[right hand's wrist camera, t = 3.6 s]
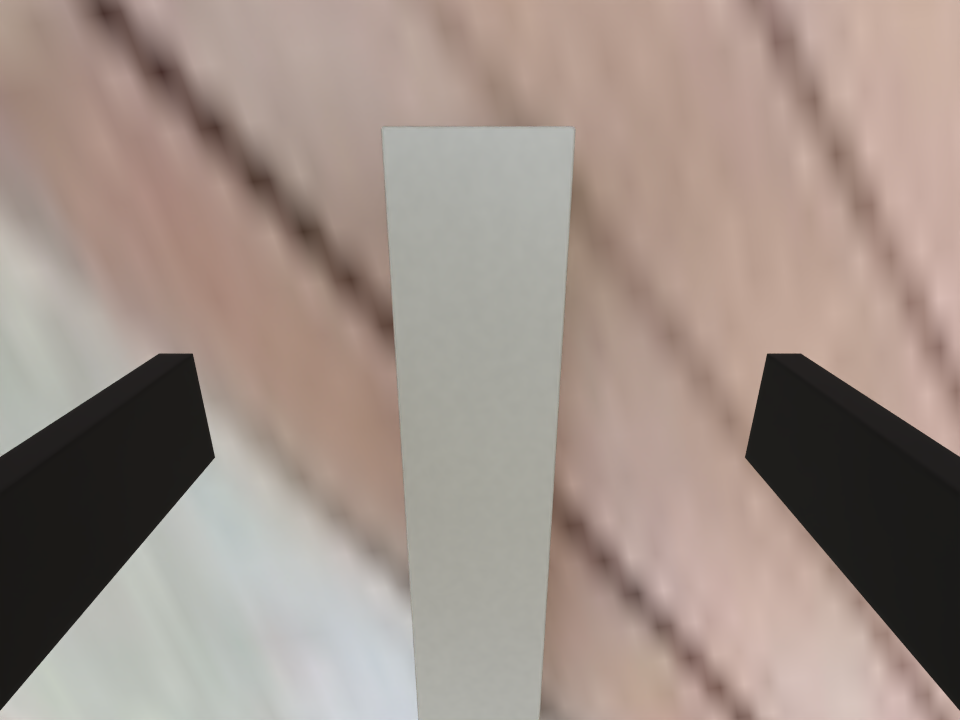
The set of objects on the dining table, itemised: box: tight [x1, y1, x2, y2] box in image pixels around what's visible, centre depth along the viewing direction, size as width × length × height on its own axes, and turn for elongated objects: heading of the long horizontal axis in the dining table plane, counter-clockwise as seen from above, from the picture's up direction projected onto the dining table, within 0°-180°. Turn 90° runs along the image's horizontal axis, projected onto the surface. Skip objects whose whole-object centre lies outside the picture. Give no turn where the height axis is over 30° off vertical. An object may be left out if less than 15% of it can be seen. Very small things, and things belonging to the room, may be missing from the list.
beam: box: [381, 126, 576, 720], centre depth 30 cm, size 59×6×8 cm, turn 0°
